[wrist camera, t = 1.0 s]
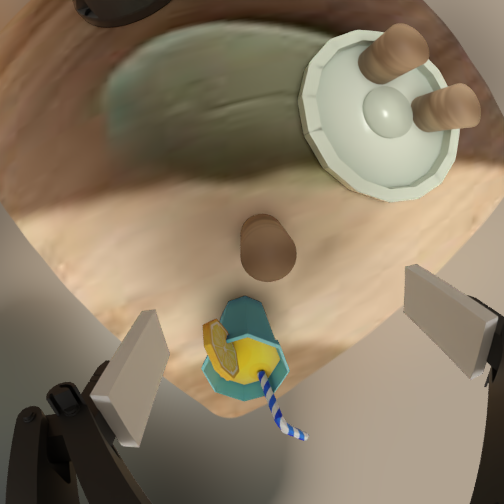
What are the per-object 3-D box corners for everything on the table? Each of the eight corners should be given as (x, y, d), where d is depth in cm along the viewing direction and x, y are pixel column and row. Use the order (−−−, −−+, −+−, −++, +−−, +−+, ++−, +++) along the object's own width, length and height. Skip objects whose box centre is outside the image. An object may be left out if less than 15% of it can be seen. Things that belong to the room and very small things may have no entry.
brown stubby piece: (237, 217, 31) (236, 232, 24) (280, 210, 31) (292, 223, 24) (244, 258, 33) (245, 285, 25) (285, 252, 33) (299, 276, 25)
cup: (309, 336, 36) (343, 423, 21) (263, 371, 37) (273, 462, 22) (232, 258, 33) (226, 326, 18) (184, 301, 34) (151, 384, 19)
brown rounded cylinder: (353, 48, 26) (382, 20, 18) (388, 51, 26) (421, 27, 18) (362, 83, 27) (395, 62, 19) (396, 85, 27) (434, 67, 19)
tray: (284, 38, 26) (287, 28, 24) (428, 47, 26) (438, 42, 24) (314, 208, 31) (319, 211, 29) (454, 191, 31) (465, 193, 29)
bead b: (406, 95, 27) (446, 80, 20) (435, 97, 27) (475, 86, 20) (413, 132, 29) (455, 125, 21) (441, 132, 28) (483, 128, 21)
